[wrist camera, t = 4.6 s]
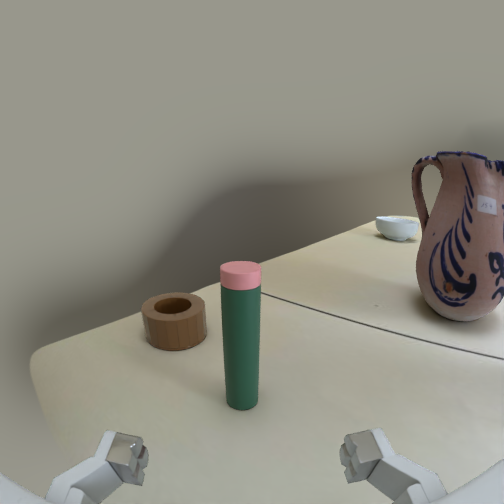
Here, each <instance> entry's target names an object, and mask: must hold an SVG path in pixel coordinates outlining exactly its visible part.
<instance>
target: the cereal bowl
mask: <svg viewBox="0 0 504 504" xmlns="http://www.w3.org/2000/svg"><path fill="white" fill-rule="evenodd" d="M418 226H419V223H418V222H415V221H412V220H407V219H401V218H393V217H376V228H377V230H378V231H379V232H380V233H382V234H383V235H385V237H386V238H388V239H391V240H398V241H404V240H406V239H407V238H411V237H413V236H414V235H415V234H416V233H417V230H418Z"/></svg>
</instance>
